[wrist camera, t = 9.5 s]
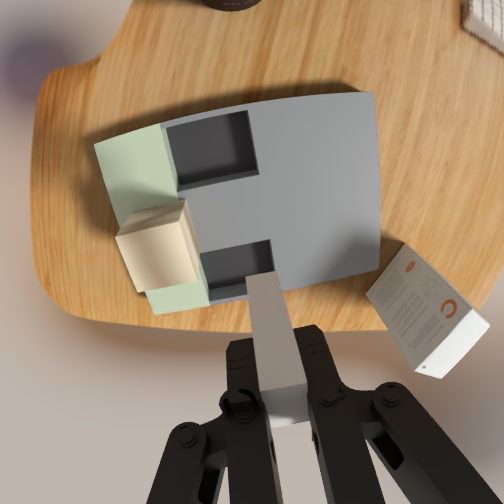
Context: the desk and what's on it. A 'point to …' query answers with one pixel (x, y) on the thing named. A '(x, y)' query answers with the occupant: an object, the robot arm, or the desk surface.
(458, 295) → the small box
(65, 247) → the desk surface
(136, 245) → the maple block
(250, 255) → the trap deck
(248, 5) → the coffee mug
